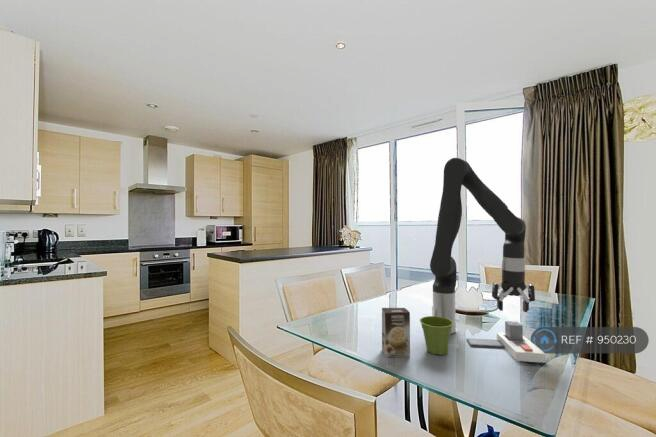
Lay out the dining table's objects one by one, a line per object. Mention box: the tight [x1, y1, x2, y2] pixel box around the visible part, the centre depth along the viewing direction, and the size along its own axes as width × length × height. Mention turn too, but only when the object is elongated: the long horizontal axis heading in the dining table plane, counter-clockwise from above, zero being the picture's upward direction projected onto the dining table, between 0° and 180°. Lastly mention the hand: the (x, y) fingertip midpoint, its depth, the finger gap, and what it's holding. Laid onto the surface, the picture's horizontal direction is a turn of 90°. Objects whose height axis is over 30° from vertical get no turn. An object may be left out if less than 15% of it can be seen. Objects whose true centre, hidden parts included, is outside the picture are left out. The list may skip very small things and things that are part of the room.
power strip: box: [496, 332, 546, 364], centre depth 111 cm, size 9×18×4 cm, turn 169°
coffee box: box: [381, 307, 411, 358], centre depth 110 cm, size 9×6×16 cm
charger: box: [504, 320, 524, 341], centre depth 115 cm, size 4×4×8 cm
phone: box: [466, 337, 505, 349], centre depth 117 cm, size 12×6×1 cm, turn 80°
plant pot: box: [419, 315, 453, 356], centre depth 112 cm, size 12×12×11 cm
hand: (512, 310), depth 115 cm, fingers open, 8 cm apart
